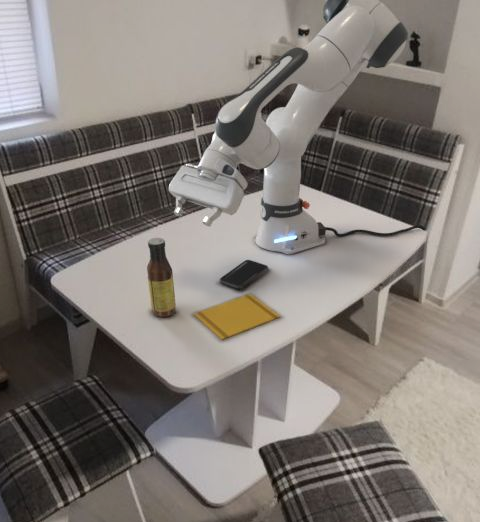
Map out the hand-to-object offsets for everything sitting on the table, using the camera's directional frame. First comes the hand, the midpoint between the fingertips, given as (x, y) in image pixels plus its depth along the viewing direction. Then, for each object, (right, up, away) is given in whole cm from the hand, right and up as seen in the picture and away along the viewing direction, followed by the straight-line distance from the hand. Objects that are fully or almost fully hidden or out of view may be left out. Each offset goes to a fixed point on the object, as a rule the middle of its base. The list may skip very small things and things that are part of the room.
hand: (191, 219), depth 130 cm
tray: (+11, -24, +4) cm, 27 cm away
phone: (+14, -11, +21) cm, 27 cm away
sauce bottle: (-8, -22, +6) cm, 25 cm away
